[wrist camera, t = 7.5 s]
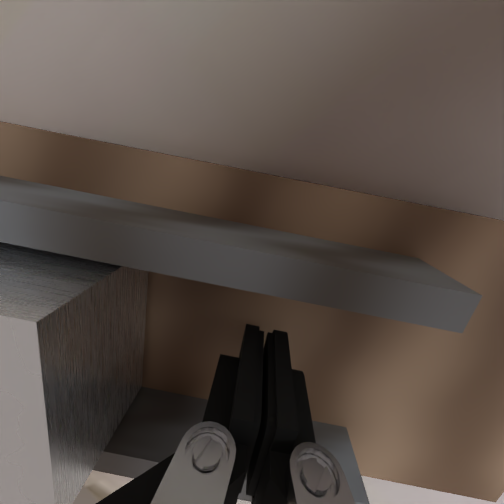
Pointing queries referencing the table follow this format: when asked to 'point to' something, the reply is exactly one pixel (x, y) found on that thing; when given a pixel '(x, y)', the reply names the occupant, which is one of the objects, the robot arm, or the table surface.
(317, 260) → the gauge bench
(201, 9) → the table surface
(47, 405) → the slider
